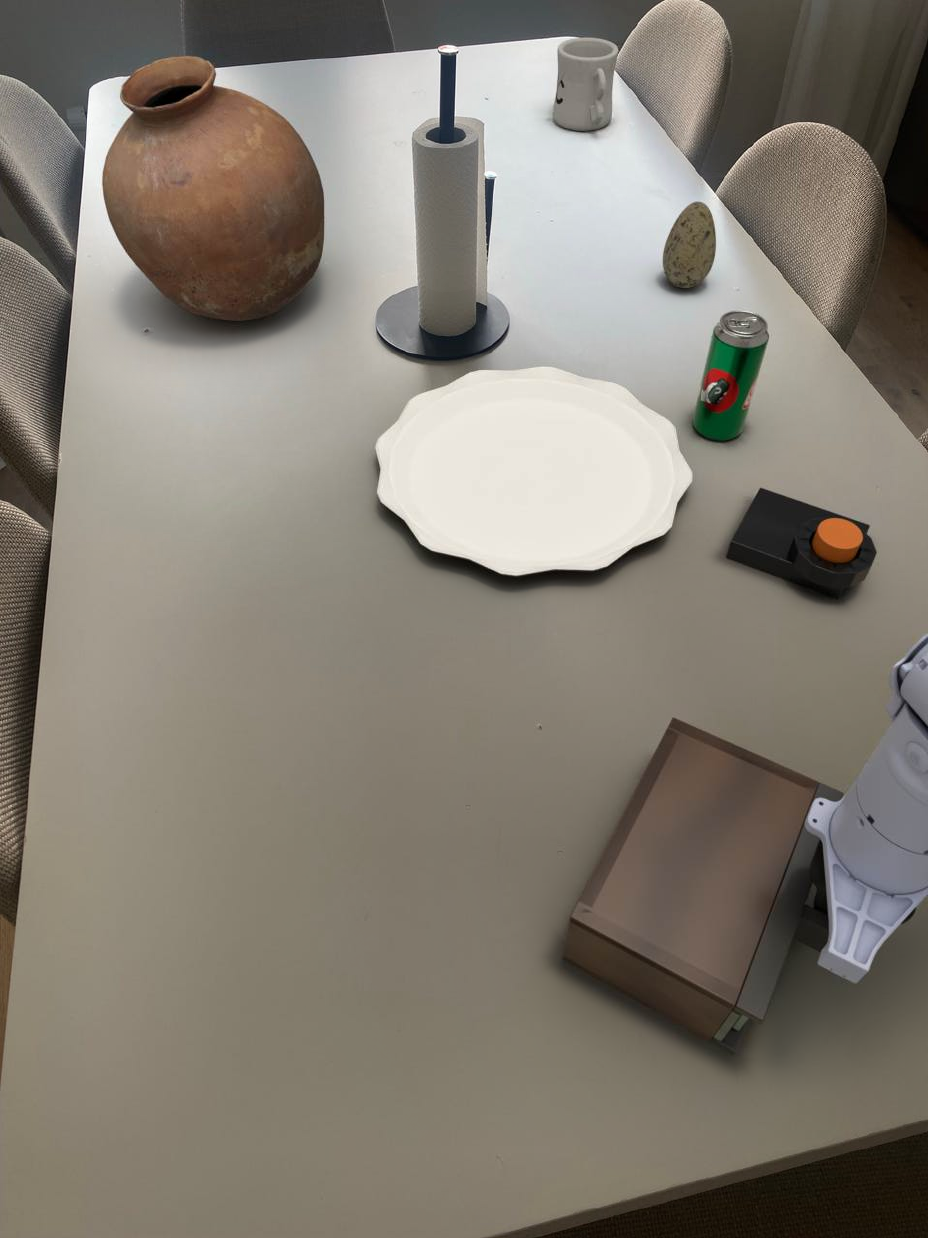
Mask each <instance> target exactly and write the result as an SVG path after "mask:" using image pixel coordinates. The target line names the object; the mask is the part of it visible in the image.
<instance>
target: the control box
mask: <svg viewBox="0 0 928 1238" xmlns="http://www.w3.org/2000/svg"><path fill="white" fill-rule="evenodd" d="M830 518H839V519H844V520H847V521H850V522H852V523H853V524H855V525H856V526H857V527H858V528H859V529H860V530H861V532H862V535H863V540H862V543H861V545H860V547H859V549H858V551H857V553H856V555H855V557H854V558H853V559H852V560H851V561H849V562H846V563H834V562H831V561H828V560H825V559H823V558H821V557H820V556H818V555H817V554H816V553H815V552H814V550H813V547H812V541H813V538H814V536H815V533H816V531H817V528H818V526H819V524H820V523H821V522H822V521H824V520H826V519H830ZM870 527H871V525H870V524H868V523H866V522H862V521H860V520H856V519H854V518H851V517H848V516H845V515H842V514H840V513H836V512H833V511H830V510H827V509H824V508H821V507H818V506H815V505H813V504H810V503H807V502H805V501H801V500H798V499H796V498H792V497H789V496H787V495H784V494H781V493H778V492H775V491H772V490H769V489H766V488H763V487H760V488H759V489H758V491H757V493H756V494H755V496H754V498H753V499H752V501H751V504H750V505H749V507H748V509H747V510H746V512H745V514H744V516H743V517H742V519H741V521H740V524H739V525H738V526H737V528H736V531H735V532H734V534H733V536H732V538H731V540H730V542H729V544H728V549H727V551H726V554H725V558H726V559H727V560H730V561H733V562H736V563H738V564H741V565H744V566H747V567H749V568H752V569H754V570H757V571H760V572H762V573H765V574H768V575H770V576H774V577H776V578H778V579H781V580H783V581H787V582H789V583H791V584H794V585H797V586H799V587H802V588H805V589H807V590H810V591H813V592H815V593H816V592H817V593H818V594H821V595H824V596H827V597H829V598H831V599H834V600H836V601H837V600H839V599H840V598H841V595H842V593H843V591H844V588H845V589H849V588H852V587H855V586H856V585H857V584H859V583H861V582H863V581H865V580H866V579H867V577H868V575H869V572H870V570H871V568H872V566H873V564H874V561H875V559H876V556H877V554H878V551H877V549H876V547H875V544H874V542H873V539H872V537H871V536H870V535H869V534H868V532H869V530H870Z"/></svg>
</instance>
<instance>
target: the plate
mask: <svg viewBox="0 0 928 1238" xmlns="http://www.w3.org/2000/svg"><path fill="white" fill-rule="evenodd" d="M676 429H677V428H676V426H675V425H674V423H672V422H671V421H670V419H668V418H666V417H664V416H663V415H661V414H659V413H657V412H656V411H654V410H652V409H651V408H649V407H647V406H646V405H644V404H643V403H642V402H641V401H640V400H638V399H637V398H636V397H635V396H634V395H633V394H632V392H630V391H629V390H628V389H627V388H626V387H624V386H622V385H620V384H618V383H615V382H611V381H606V380H602V379H601V380H600V379H594V378H589V377H583V376H580V375H577V374H574V373H573V372H569V371H567V370H564V369H560V368H558V367H555V366H554V367H553V366H543V365H542V366H534V367H529V368H521V369H513V370H502V369H501V370H500V369H499V370H498V369H479V370H474V371H470V372H468V373H466V374H465V375H463V376H461V377H459V378H457V379H456V380H453V381H452V382H450V383H448V384H446V385H443V386H441V387H437V388H434V389H431V390H428V391H425V392H421V393H418V394H416V395H415V396H413V397H412V398H410V399H409V400H408V401H407V403H406V405H405V407H404V408H403V410H402V412H401V413H400V415H399V417H398V419H397V420H396V422H394V423H393V424H392V425H391V426H390V427H389V428H388V429H387V430H385V431H384V432H383V433H382V434H381V435H380V436H379V437H378V438H377V441H376V444H375V445H374V449H375V452H376V457H377V461H378V464H379V469H380V471H379V478H378V484H377V489H376V495H377V498H378V499H379V501H380V504H381V505H382V506H384V507H385V508H386V509H388V510H389V511H390V512H392V513H393V514H394V515H395V516H397V517H398V518H399V519H400V520H401V521H403V522H404V523H405V525H406V526H407V527H408V529H409V530H410V532H411V533H412V534H413V536H414V538H415V539H416V540H417V542H418V543H419V545H420V546H421V547H423V548H425V549H426V550H428V551H430V552H431V553H435V554H439V555H443V556H448V557H454V558H457V559H461V560H467V561H470V562H472V563H474V564H475V565H478V566H480V567H482V568H485V569H487V570H489V571H492V572H494V573H495V574H498V575H500V576H505V577H514V578H519V577H525V576H531V575H536V574H541V573H547V572H553V571H560V572H561V571H562V572H597V571H600V570H604V569H607V568H609V567H610V566H611V565H612V564H614V563H615V562H616V561H618V560H619V559H620V558H622V557H623V556H624V555H626V554H627V553H629V552H630V551H631V550H632V549H634V548H638V547H640V546H643V545H645V544H648V543H650V542H653V541H654V540H657V539H659V538H662V537H664V536H665V535H666V534H667V533H668V532H669V531H670V530H671V529H672V527H673V523H674V519H675V515H676V510H677V506H678V503H679V501H680V500H681V499H682V497H683V496H684V494H685V493H686V492H687V490H688V489H689V487H690V486H691V484H692V483H693V470H692V469H691V467H690V466H689V464H688V463H687V460H686V458H685V457H684V456H683V454H682V452H681V450H680V446H679V440H678V434H677V430H676Z"/></svg>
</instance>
